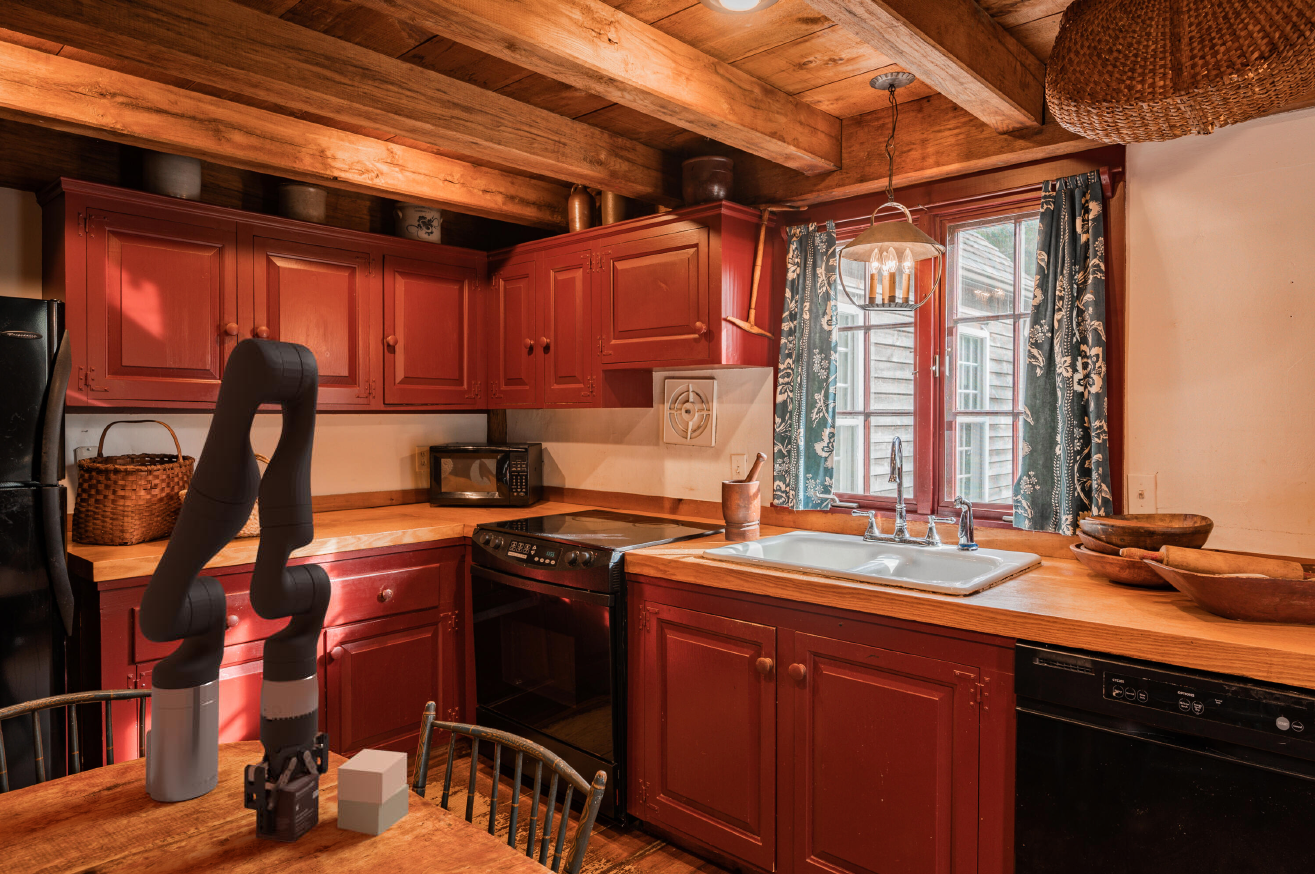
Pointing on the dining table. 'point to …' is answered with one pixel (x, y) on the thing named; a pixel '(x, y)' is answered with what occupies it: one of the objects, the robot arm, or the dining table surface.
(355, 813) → the tower base
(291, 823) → the box
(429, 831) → the dining table surface
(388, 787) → the tower top
